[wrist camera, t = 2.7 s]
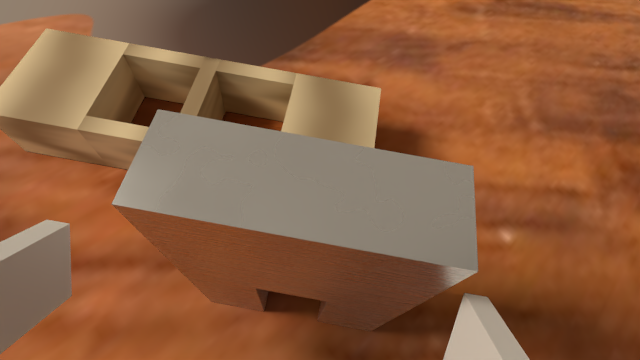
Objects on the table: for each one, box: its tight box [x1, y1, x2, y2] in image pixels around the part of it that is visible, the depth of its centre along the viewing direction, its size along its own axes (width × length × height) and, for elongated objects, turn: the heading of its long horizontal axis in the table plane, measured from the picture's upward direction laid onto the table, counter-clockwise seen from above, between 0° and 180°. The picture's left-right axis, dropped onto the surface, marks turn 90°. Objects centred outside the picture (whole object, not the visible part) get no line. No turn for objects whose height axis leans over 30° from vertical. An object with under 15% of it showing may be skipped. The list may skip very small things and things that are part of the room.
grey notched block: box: [112, 109, 478, 331], centre depth 15 cm, size 9×3×13 cm, turn 80°
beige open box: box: [0, 29, 381, 170], centre depth 24 cm, size 22×7×4 cm, turn 80°
